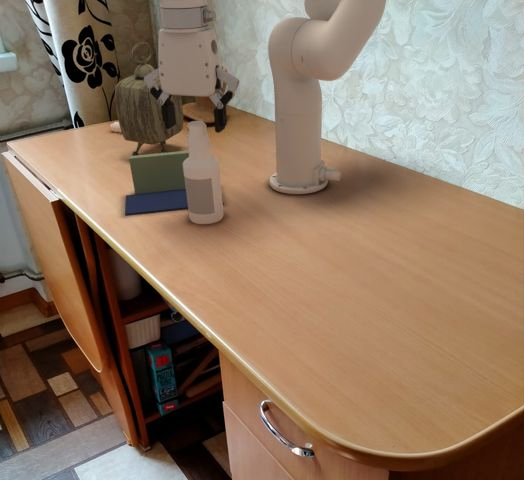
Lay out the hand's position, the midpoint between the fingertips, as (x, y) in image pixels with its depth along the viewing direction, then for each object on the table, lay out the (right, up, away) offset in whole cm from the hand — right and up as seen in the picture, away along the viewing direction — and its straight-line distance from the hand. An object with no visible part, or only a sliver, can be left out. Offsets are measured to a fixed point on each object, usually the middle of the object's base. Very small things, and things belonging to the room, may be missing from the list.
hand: (195, 128), depth 103 cm
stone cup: (-4, +27, +64) cm, 70 cm away
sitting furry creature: (-25, +22, +59) cm, 67 cm away
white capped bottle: (+1, -14, +11) cm, 17 cm away
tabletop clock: (-14, +10, +42) cm, 46 cm away
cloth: (-7, -8, +18) cm, 21 cm away
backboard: (-8, -5, +23) cm, 24 cm away
